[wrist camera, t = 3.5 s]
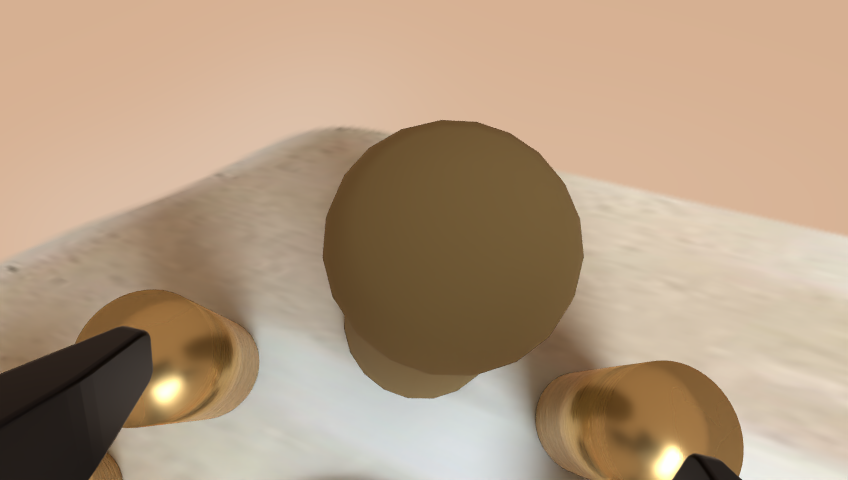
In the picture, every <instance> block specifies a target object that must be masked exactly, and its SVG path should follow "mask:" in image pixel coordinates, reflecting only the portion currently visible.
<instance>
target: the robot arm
mask: <svg viewBox="0 0 848 480" xmlns="http://www.w3.org/2000/svg"><path fill="white" fill-rule="evenodd" d="M152 373H153V360H152V348H151V338H150V335H149V333H148V332H147V331H145V330H142V329H137V328H133V327H128V326H120V327H117V328H114V329H112V330H109V331H107V332H104V333H101V334H99V335H96V336H94V337H91V338H89V339H86V340H84V341H81V342H79V343H76V344H74V345H71V346H69V347H66V348H64V349H61V350H59V351H56V352H54V353H51V354H49V355H46V356H44V357H41V358H39V359H36V360H34V361H31V362H29V363H26V364H24V365H21V366H19V367H16V368H14V369H11V370H9V371H6V372H4V373H1V374H0V480H89V479H90V477H91V476H92V474H93V473H94V472H95V470H96V469H97V467H98V466H99V464H100V462H101V461H102V459H103V458H104V456H105V455H106V453H107V451H108V450H109V448H110V446H111V445H112V443H113V441H114V440H115V438H116V437H117V435H118V433H119V432H120V430H121V428H122V427H123V425H124V423H125V422H126V420H127V418H128V417H129V415H130V413H131V412H132V410H133V408H134V407H135V405H136V404H137V402H138V400H139V399H140V397H141V395H142V394H143V392H144V390H145V389H146V387H147V385H148V384H149V382H150V379H151V377H152ZM672 480H742V479H741V478H740V477H738V476H737V475H736V474H735V473H734V472H733V471H732V470H731V469H730V468H729V467H728V466H727V465H726V464H725V463H724V462H722V461H721V460H720V459H718V458H715V457H711V456H706V455H702V454H697V453H693V454H691V455H689V456H688V457H687V458H686V459H685V461H684V462H683V464H682V465H681V467H680V468H679V470H678V472H677V473H676V475H675V476H674V478H673V479H672Z"/></svg>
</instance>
